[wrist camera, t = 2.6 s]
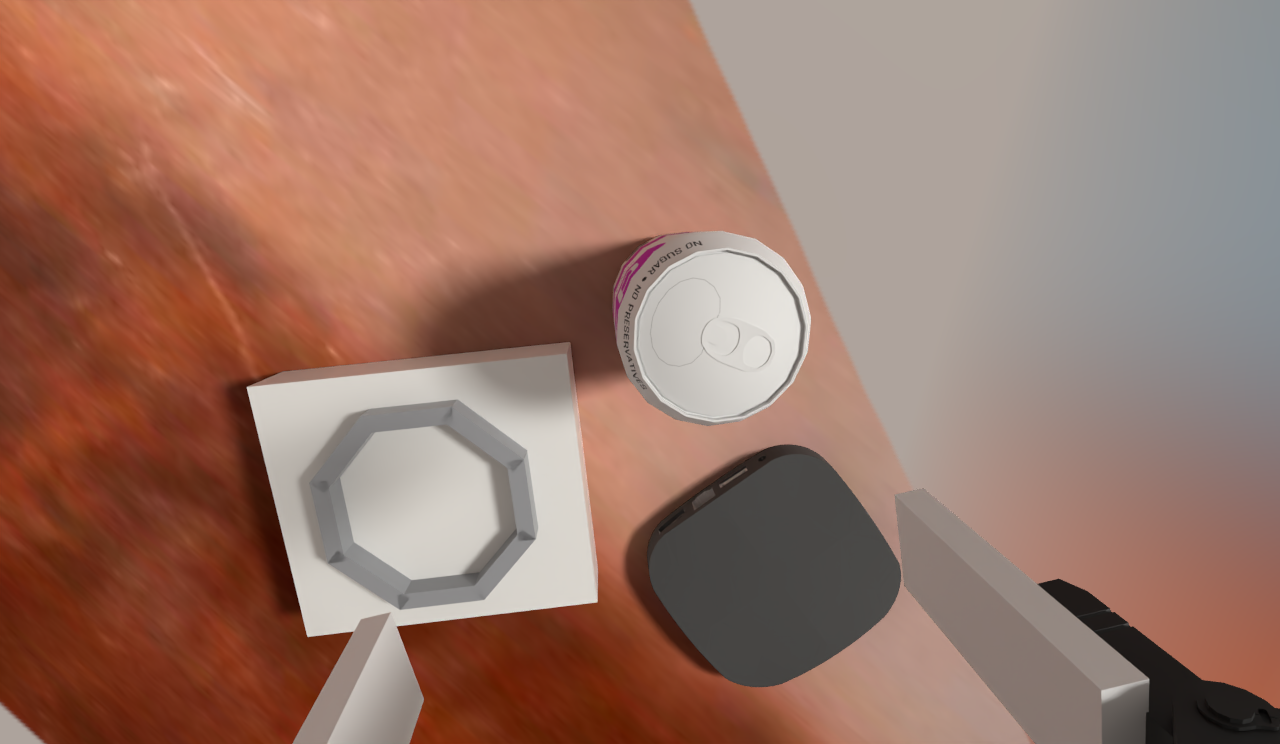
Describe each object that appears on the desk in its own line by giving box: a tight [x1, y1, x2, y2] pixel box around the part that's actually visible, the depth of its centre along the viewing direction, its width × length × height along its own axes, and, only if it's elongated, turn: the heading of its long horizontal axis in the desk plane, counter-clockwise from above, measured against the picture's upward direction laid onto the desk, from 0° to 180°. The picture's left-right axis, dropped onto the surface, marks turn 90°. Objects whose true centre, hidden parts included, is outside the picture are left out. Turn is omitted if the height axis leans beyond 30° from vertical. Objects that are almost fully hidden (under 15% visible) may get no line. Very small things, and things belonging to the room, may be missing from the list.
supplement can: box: [612, 231, 811, 426], centre depth 32 cm, size 8×8×15 cm
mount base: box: [247, 342, 598, 637], centre depth 38 cm, size 18×16×6 cm
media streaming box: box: [647, 445, 901, 687], centre depth 42 cm, size 15×15×3 cm
